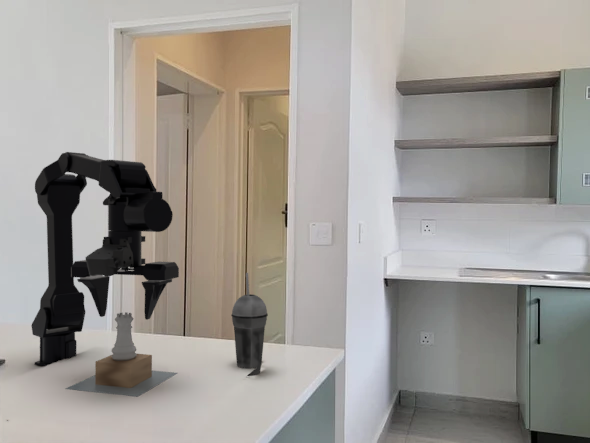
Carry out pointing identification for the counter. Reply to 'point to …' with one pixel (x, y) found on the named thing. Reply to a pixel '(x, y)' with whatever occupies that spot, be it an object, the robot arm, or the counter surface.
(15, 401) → the counter surface
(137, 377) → the base brick
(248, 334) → the beverage cup
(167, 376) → the build plate
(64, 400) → the counter surface
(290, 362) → the counter surface
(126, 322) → the rook chess piece
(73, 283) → the robot arm
